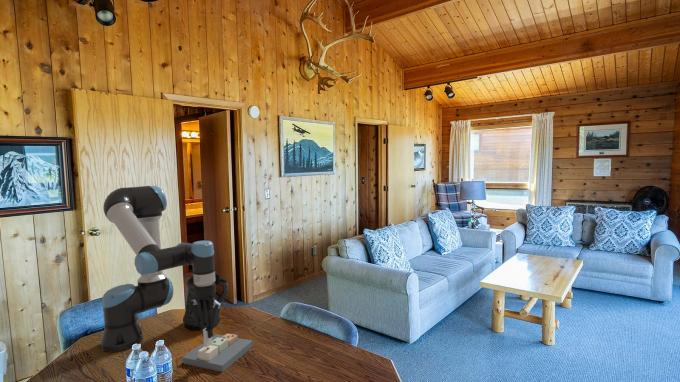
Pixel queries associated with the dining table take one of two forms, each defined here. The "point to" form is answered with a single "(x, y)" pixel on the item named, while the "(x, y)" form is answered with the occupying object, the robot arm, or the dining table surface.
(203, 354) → the cream square block
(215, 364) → the button board
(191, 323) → the beer stein
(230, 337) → the pink square block
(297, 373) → the dining table surface
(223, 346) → the pale green block
